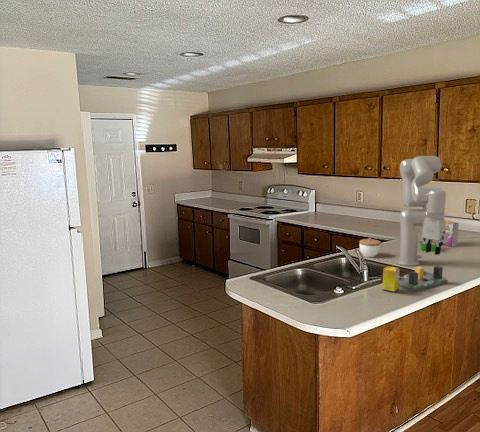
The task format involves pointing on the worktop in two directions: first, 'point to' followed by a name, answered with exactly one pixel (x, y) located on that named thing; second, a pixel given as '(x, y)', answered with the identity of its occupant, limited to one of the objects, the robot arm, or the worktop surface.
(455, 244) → the candy bar box
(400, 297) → the worktop surface
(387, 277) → the supplement box
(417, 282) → the compartment sorting tray
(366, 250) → the lidded bowl
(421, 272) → the handle
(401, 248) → the robot arm
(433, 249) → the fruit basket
